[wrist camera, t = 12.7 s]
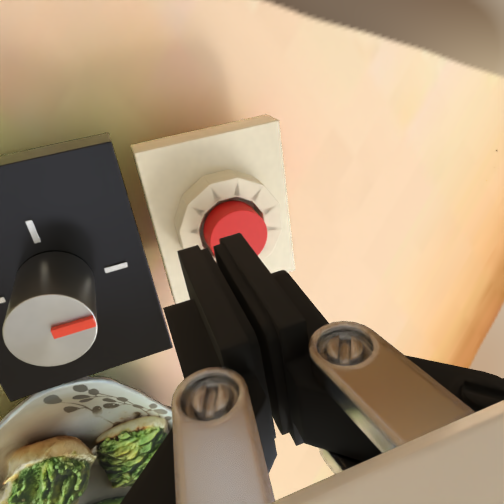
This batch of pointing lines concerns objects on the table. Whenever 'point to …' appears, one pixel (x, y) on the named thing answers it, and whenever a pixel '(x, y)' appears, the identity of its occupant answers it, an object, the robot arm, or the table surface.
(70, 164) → the hob panel
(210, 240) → the igniter button
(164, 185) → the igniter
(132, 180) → the table surface
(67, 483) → the salad plate
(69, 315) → the stove knob
